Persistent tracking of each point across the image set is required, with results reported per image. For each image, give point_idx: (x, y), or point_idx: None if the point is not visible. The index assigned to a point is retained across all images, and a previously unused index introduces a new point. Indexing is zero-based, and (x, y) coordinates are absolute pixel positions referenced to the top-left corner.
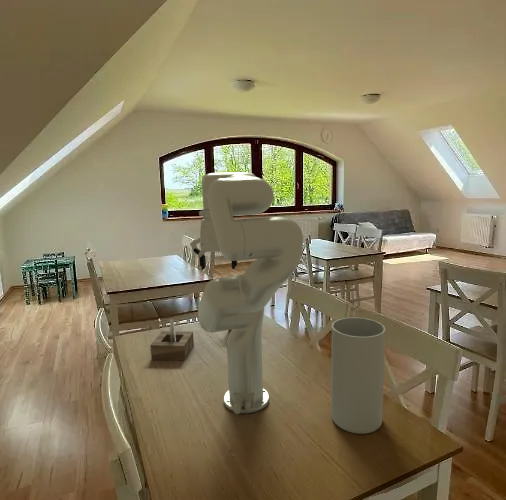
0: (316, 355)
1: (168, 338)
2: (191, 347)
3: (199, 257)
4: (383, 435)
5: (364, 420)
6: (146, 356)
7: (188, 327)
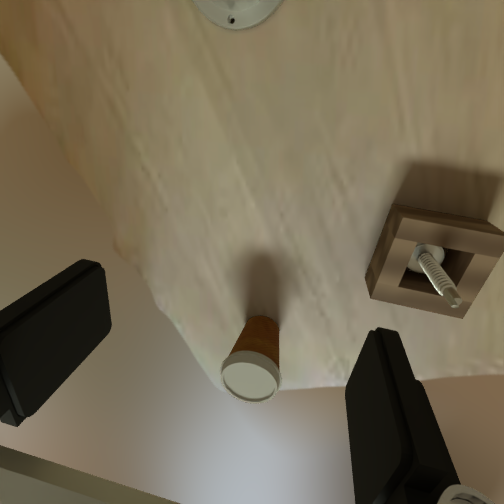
0: (94, 183)
1: None
2: (372, 261)
3: (462, 492)
4: None
5: None
6: None
7: None
